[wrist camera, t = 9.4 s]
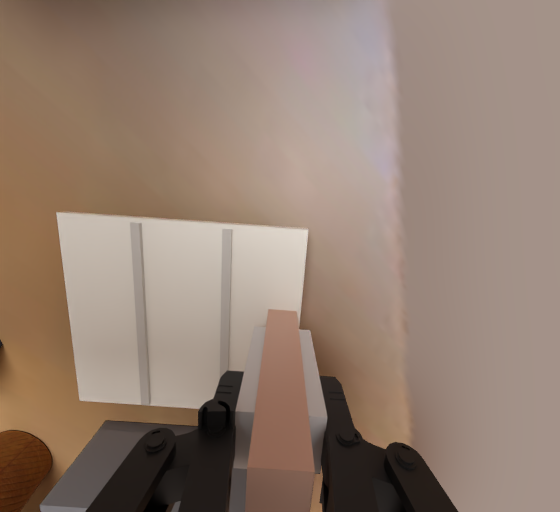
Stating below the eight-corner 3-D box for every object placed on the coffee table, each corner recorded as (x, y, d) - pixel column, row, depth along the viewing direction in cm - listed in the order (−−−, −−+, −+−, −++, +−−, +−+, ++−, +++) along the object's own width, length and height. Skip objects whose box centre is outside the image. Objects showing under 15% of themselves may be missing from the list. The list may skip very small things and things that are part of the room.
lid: (79, 210, 19) (-331, 239, 6) (305, 226, 19) (350, 286, 6) (97, 382, 22) (-149, 629, 10) (290, 396, 22) (299, 658, 10)
